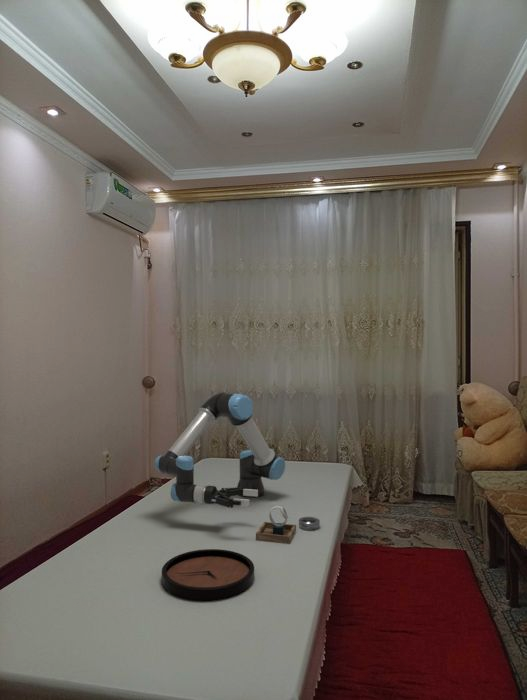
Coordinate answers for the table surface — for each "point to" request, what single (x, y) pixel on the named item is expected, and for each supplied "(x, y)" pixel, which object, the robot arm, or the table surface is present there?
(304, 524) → the round socket
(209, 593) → the wall clock
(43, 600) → the table surface
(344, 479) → the table surface
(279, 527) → the watch
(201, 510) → the table surface
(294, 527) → the rect wooden tray
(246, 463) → the robot arm
